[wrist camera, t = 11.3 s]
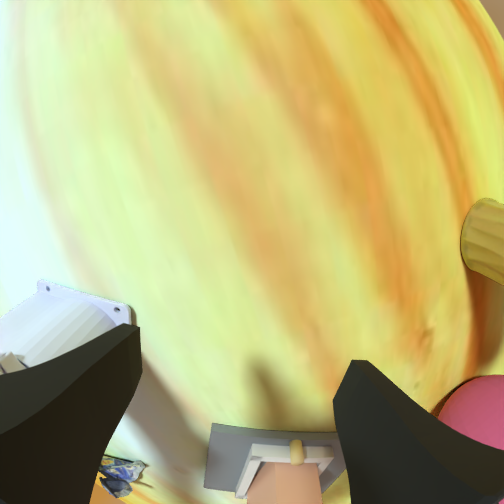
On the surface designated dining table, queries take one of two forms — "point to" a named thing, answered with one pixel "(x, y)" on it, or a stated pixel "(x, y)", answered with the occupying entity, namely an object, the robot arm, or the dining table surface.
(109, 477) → the snack package
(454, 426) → the pink dragon fruit
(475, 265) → the vase
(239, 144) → the dining table surface
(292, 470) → the block
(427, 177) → the dining table surface
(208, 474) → the socket plate
